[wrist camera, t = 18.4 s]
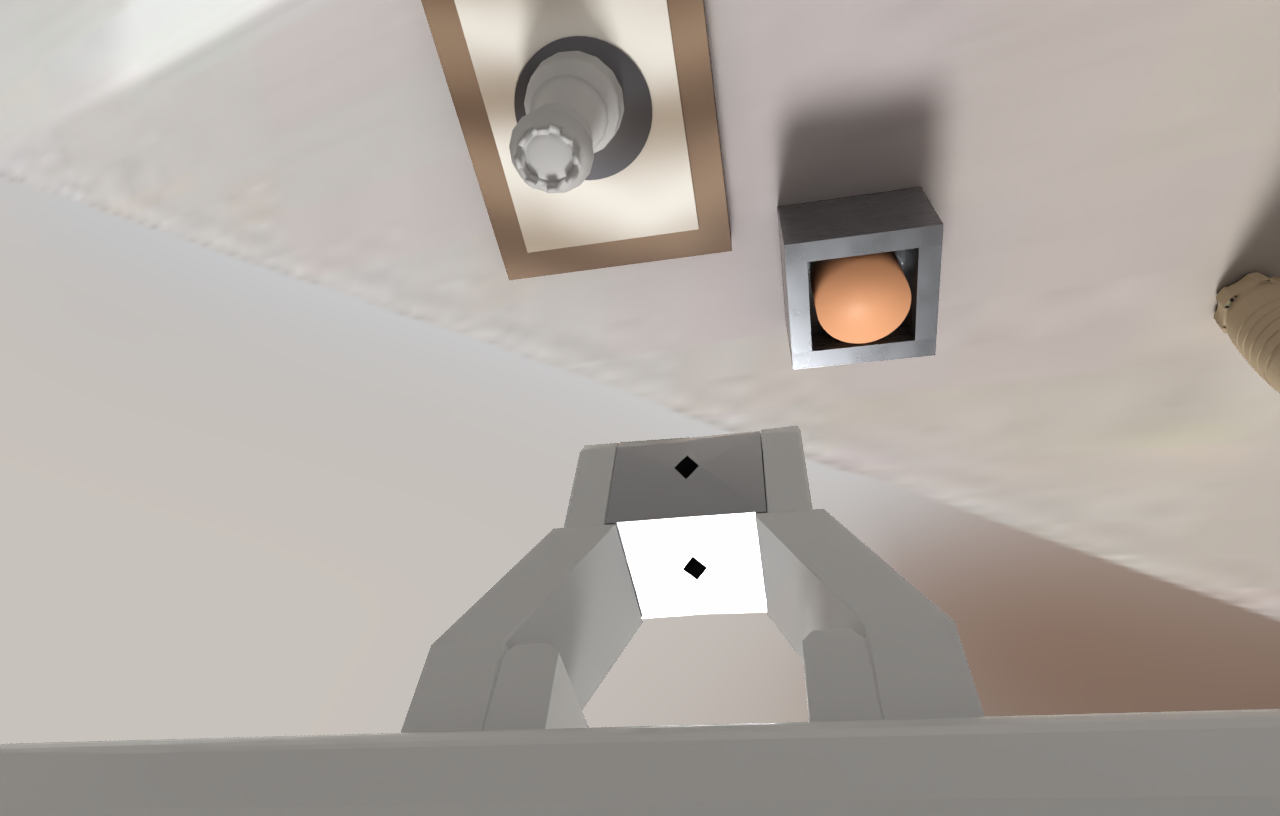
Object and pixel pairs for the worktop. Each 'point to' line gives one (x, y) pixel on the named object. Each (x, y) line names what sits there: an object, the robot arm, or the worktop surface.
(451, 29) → the board
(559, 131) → the rook chess piece
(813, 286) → the button
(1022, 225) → the worktop surface
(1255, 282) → the handle
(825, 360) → the button housing
